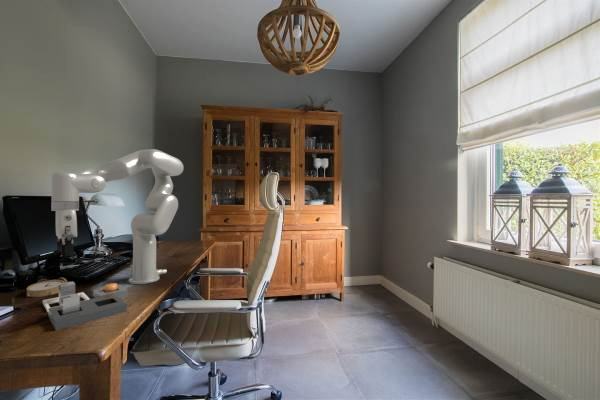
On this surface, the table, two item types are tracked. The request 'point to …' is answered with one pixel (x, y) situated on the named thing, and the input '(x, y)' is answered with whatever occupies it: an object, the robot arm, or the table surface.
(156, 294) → the table surface
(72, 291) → the billet
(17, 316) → the table surface
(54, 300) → the tray
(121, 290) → the button housing
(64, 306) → the block
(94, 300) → the grey slotted frame
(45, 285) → the alarm clock
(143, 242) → the robot arm
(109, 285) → the button cap
